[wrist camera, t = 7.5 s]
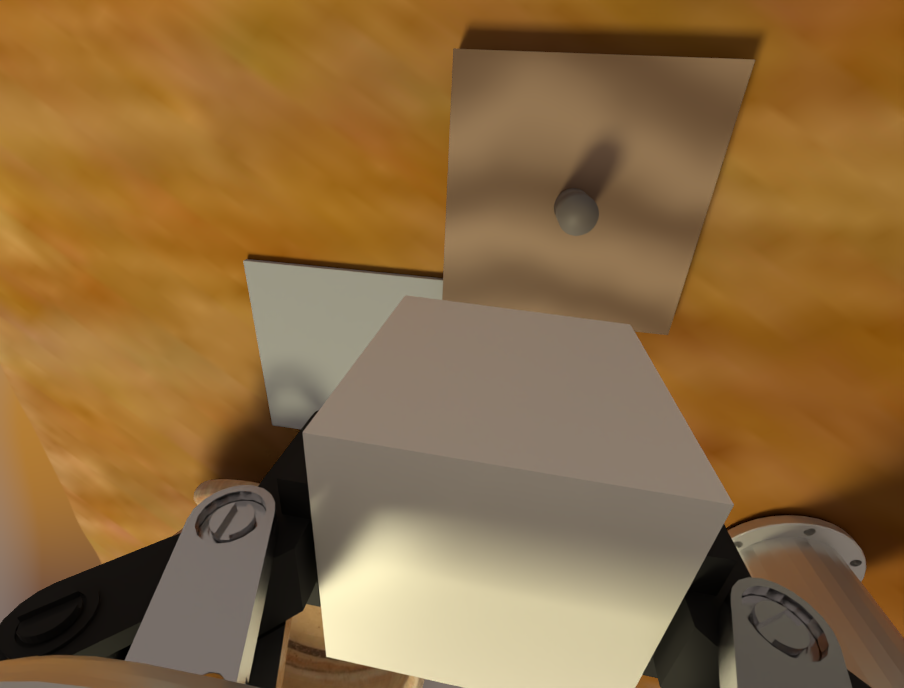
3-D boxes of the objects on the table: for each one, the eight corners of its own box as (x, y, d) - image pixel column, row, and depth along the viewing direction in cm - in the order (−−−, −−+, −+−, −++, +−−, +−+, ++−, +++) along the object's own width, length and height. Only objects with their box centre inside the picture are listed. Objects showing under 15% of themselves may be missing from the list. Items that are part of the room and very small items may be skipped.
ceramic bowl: (149, 418, 43) (51, 492, 34) (419, 420, 38) (387, 507, 29) (258, 635, 59) (211, 724, 50) (459, 657, 53) (446, 760, 44)
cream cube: (630, 324, 10) (733, 504, 5) (579, 492, 13) (617, 721, 8) (405, 295, 11) (302, 432, 6) (400, 461, 13) (326, 656, 8)
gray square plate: (438, 445, 38) (437, 449, 38) (275, 422, 40) (272, 425, 40) (446, 278, 31) (445, 280, 31) (247, 258, 33) (243, 260, 33)
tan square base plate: (661, 326, 30) (685, 358, 26) (445, 303, 32) (432, 330, 28) (741, 64, 23) (793, 46, 19) (457, 53, 25) (442, 35, 20)
